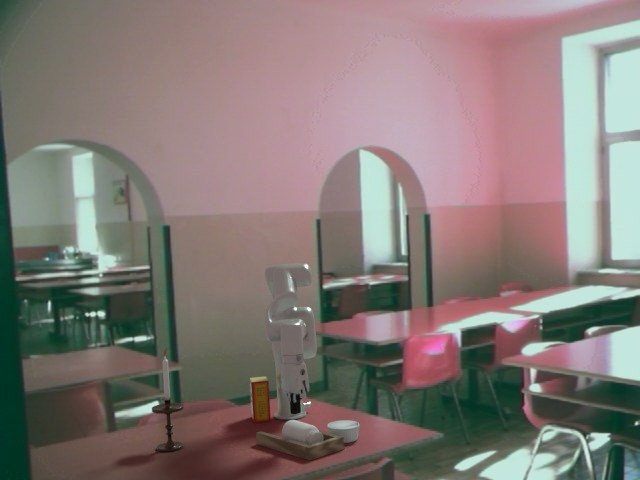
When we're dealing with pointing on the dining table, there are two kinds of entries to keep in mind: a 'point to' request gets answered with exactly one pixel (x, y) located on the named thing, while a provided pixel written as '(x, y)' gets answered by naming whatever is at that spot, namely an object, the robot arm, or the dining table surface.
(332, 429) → the ramekin
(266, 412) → the baking soda box
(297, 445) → the u rest
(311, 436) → the pill bottle
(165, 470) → the dining table surface
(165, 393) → the candlestick
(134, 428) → the dining table surface
